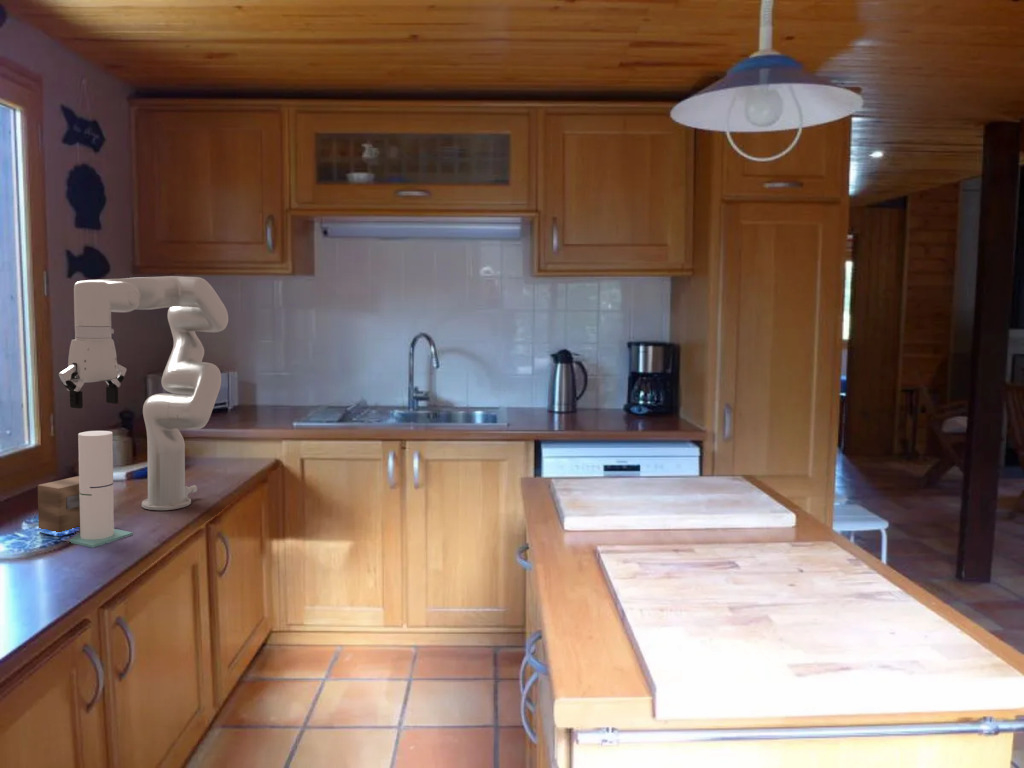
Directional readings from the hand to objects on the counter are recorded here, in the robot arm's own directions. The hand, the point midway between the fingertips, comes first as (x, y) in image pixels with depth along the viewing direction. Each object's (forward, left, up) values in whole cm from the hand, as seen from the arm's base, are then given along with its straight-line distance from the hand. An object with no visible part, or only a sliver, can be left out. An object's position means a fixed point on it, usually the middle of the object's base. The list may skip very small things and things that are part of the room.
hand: (94, 405), depth 176 cm
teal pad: (0, +1, -32) cm, 32 cm away
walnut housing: (-2, -10, -32) cm, 34 cm away
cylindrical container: (0, +1, -32) cm, 32 cm away
